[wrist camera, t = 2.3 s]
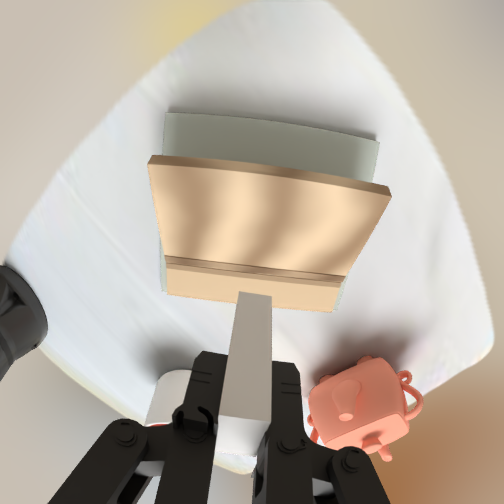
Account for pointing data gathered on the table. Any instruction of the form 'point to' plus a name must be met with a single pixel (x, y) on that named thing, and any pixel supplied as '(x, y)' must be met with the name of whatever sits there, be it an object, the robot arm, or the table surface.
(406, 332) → the table surface
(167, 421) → the cup
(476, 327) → the table surface
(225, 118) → the pad
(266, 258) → the board
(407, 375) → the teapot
